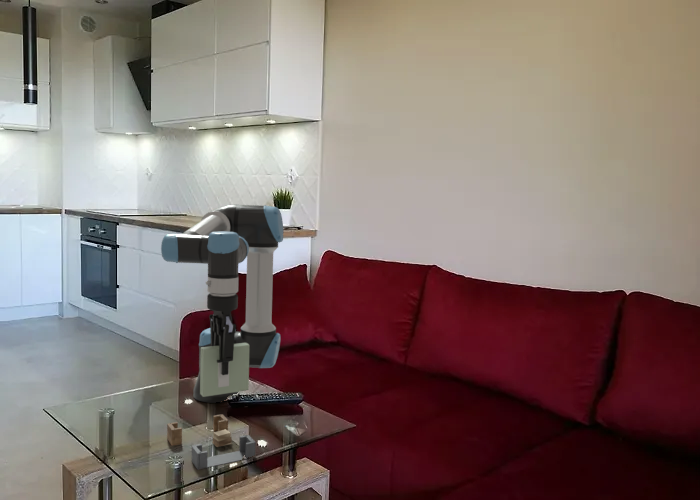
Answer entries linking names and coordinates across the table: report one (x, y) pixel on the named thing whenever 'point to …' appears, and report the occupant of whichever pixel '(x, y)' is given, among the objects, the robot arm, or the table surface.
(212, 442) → the offcut birch
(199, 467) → the display stand
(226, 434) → the offcut mdf
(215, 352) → the sheet
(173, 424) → the rack
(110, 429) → the table surface
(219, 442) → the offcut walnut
